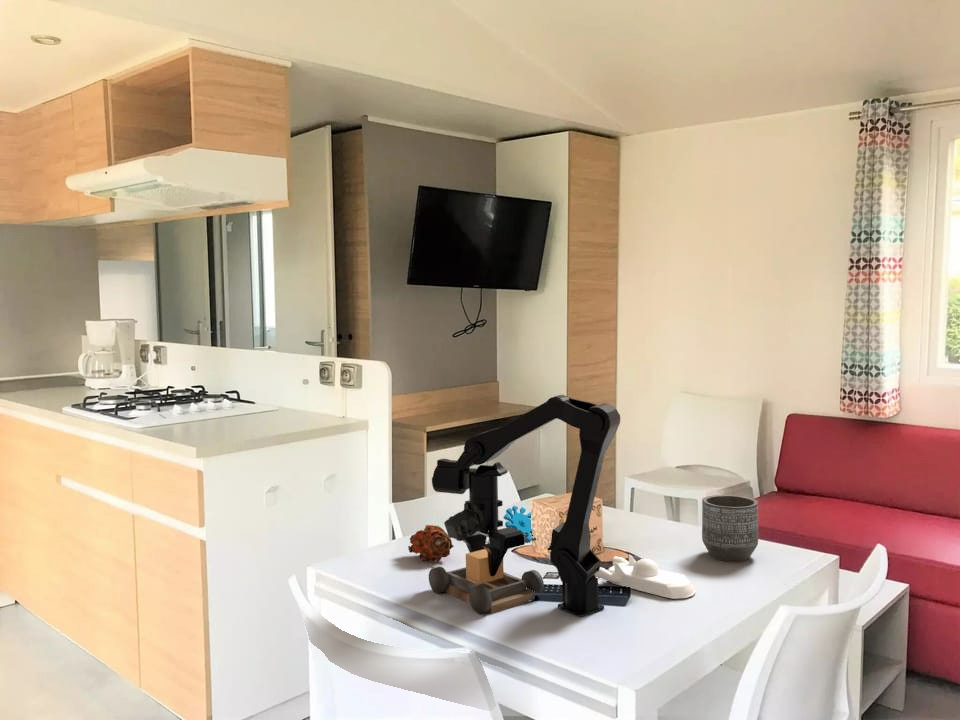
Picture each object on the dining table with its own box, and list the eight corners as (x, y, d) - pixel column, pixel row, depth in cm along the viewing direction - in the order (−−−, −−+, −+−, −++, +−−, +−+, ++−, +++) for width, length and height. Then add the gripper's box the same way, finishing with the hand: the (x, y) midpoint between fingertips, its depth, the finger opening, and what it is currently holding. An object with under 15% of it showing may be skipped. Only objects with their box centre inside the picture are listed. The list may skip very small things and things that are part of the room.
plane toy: (680, 606, 154) (680, 576, 154) (591, 584, 167) (591, 557, 167) (704, 591, 162) (704, 562, 162) (617, 571, 175) (617, 544, 175)
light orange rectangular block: (503, 577, 162) (503, 552, 161) (479, 584, 158) (479, 559, 158) (489, 571, 165) (489, 547, 165) (466, 578, 162) (465, 553, 161)
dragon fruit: (449, 572, 180) (413, 569, 188) (467, 543, 186) (431, 541, 193) (430, 547, 177) (393, 545, 185) (448, 517, 182) (412, 517, 190)
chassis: (544, 598, 159) (543, 573, 159) (485, 616, 150) (485, 590, 150) (485, 574, 174) (484, 551, 174) (428, 589, 165) (428, 565, 165)
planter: (770, 559, 180) (770, 503, 179) (728, 567, 175) (728, 509, 174) (731, 545, 191) (731, 492, 190) (690, 553, 186) (690, 498, 185)
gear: (515, 539, 193) (500, 504, 199) (503, 553, 197) (488, 518, 203) (550, 537, 200) (534, 503, 206) (538, 550, 203) (522, 516, 209)
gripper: (424, 494, 163) (426, 569, 164) (479, 511, 148) (481, 594, 149) (468, 486, 170) (469, 558, 171) (525, 501, 155) (527, 581, 156)
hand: (485, 572), depth 162 cm, fingers closed on light orange rectangular block, 4 cm apart
